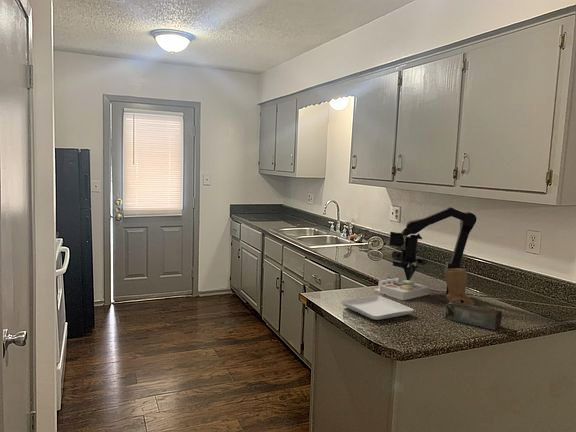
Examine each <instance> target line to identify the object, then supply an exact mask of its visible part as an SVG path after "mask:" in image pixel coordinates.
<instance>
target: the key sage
mask: <svg viewBox="0 0 576 432" xmlns="http://www.w3.org/2000/svg"><path fill="white" fill-rule="evenodd" d="M400 282H404V283H407V285H413V284H414V283H416V282H415V281H412V280H407V279H406V280H405V279H403V280H401V281H400Z"/></svg>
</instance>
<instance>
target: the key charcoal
mask: <svg viewBox="0 0 576 432" xmlns="http://www.w3.org/2000/svg"><path fill="white" fill-rule="evenodd" d="M393 285H396V286H403V285H407V283H404V282H401V281H399V280H398V282H393Z"/></svg>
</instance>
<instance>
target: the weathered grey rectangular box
mask: <svg viewBox="0 0 576 432" xmlns="http://www.w3.org/2000/svg"><path fill="white" fill-rule="evenodd" d="M502 317H503V311H502V310H498V309H495V308H491V307H490V308H489V307H483V306H478V305H475V304H474V305H469V304H464V303H459V302H455V301H452V302H450V301H449V302H448V303H446V304H445V313H444V319H446V320H450V321H455V322H458V323H463V324H465V325H466V324H467V325H470V326H476V327H479V326H480V327H481V328H485V329H488V330H493V331H496V330H498V328H500V327H501V324H502Z"/></svg>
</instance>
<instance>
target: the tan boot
mask: <svg viewBox="0 0 576 432" xmlns="http://www.w3.org/2000/svg"><path fill="white" fill-rule="evenodd" d="M443 276H444V280H445V284H446V288H447V287H448V291H449V294H447V295H446V299H447V300H448V301H449V302H452V301H455V302H459V303H464V304H469V305H474V306H475V302H474V301H473V300H472V299H471V298H470V296H468V295H466V287H467V284H468V272H467V270H466V269H465V268H460V269H446V270H444V273H443Z"/></svg>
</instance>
